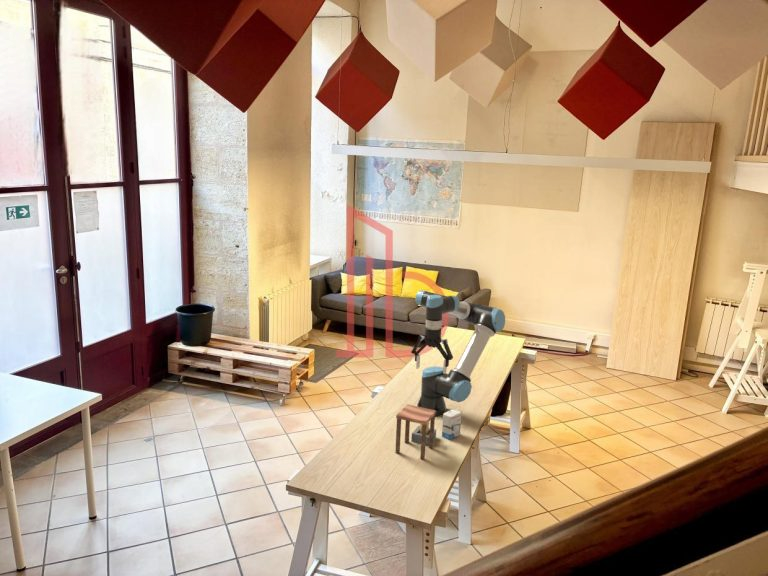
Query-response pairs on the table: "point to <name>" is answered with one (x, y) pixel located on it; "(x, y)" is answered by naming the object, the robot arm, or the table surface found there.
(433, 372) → the robot arm
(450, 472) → the table surface
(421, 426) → the peg
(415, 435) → the socket block
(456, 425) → the ink box
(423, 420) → the wooden stool
